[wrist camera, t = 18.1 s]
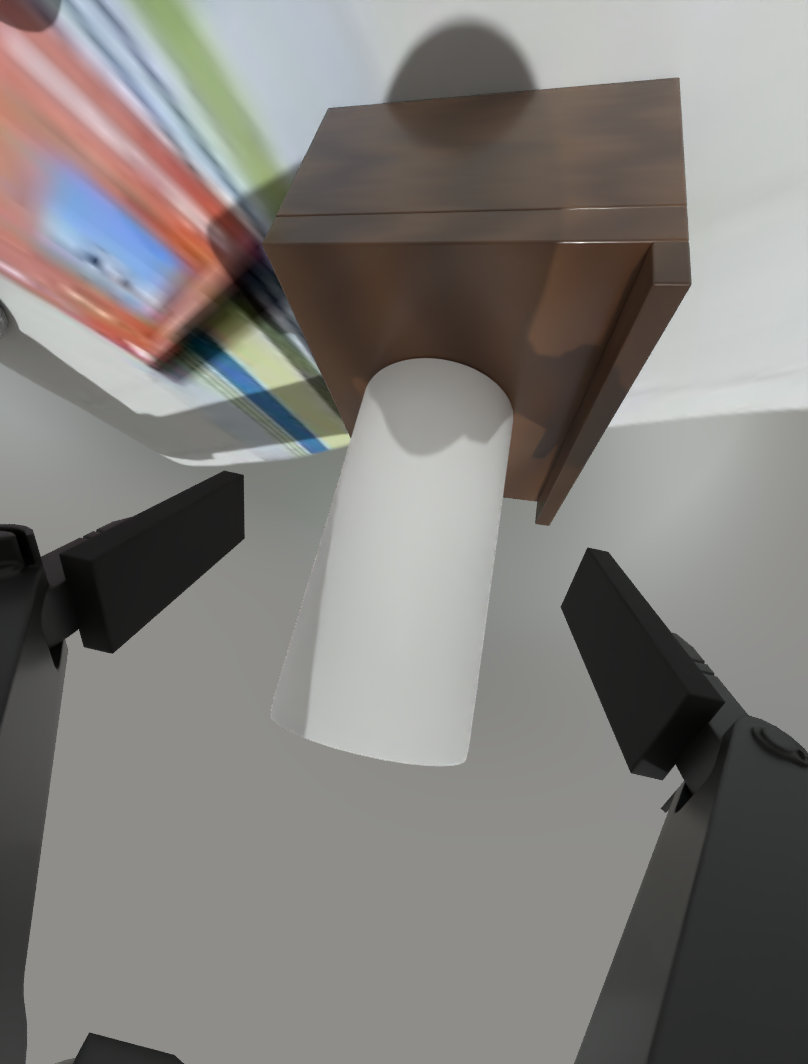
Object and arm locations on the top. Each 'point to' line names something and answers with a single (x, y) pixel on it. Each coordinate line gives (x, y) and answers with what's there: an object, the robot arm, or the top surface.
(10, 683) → the robot arm
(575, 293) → the small wooden box
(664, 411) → the top surface
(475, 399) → the cup
